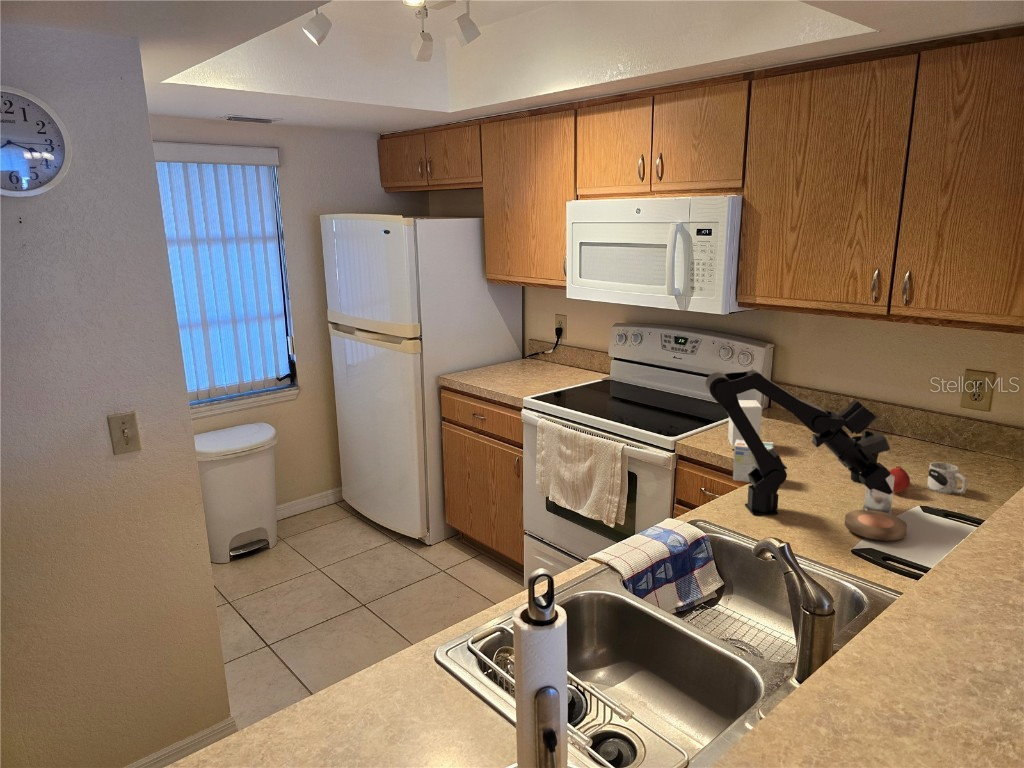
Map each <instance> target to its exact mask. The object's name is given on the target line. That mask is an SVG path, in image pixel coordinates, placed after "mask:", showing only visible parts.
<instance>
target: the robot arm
mask: <svg viewBox="0 0 1024 768" xmlns="http://www.w3.org/2000/svg"><path fill="white" fill-rule="evenodd" d="M705 388H706V390H707V391H708V393H709V394H710V395H711V396H712V398H713V400H715V401H716V402H717V404H718V405H720V407H721V408H722V409H723V410H724V411H725V412H726V414H727V415H728V418H729V417H730V418H731V420H732V422H733V423H734V425H735V427H736V428H737V430H738V432H739V433H740V435H741V436H742V438H743V440H744V441H745V443H746V445H747V446H748V448H749V449H750V451H751V453H752V456H753V459H754V463H755V465H756V468H755V469H754V470H752V471H751V472H750V473H749V474H748V478H749V481H750V482H749V483H750V484H751V485H750V484H749V485H748V487H747V489H748V490H747V491H748V492H747V502H746V503H744V507H746V508H748V509H749V510H750V511H749V512H750V513H751V514H752V516H766V515H769V516H770V515H778V514H779V511H778V508H779V494H778V491H779V488H780V486H781V485H782V484H784V483H785V482H786V479H787V477H788V474H787V473H788V472H787V470H788V467H787V466H786V465H785V464H784V462H783V461H782V459H781V456H780V455H779V454H778V452H777V451H776V449H774V448H772V449H771V450H769V451H768V450H767V449H766V447H765V446H764V444H763V442H764V441H762V439H761V436H760V437H759V436H758V434H757V433H756V431H755V429H754V428H753V426H752V424H751V423H750V421H749V419H748V418H747V416H746V414H745V413H744V411H743V410H742V408H741V406H740V404H739V401H738V400H739V398H738V395H740V394H742V393H745V392H748V391H750V390H755V391H757V392H759V393H760V394H762V395H763V396H765V397H767V398H768V399H769V400H772V402H774V403H776V404H778V405H779V406H781V407H782V408H784V409H786V410H787V411H789V412H790V413H791V414H793V416H795V417H796V418H797V419H798V421H800V422H801V423H802V424H803V425H804V426H806V427H807V428H808V430H809V431H811V432H812V440H811V443H812V444H813V445H814V446H815V447H816V448H819V447H821V446H822V445H825V446H826V447H827V448H828V450H830V452H831V453H832V454H833V455H834V456H835V457H836V458H837V461H839V462H840V463H841V464H842V465H843V466H844V467H845V468H847V470H848V471H849V472H850V473H851V472H852V473H854V474H856V475H858V476H859V480H860V481H861V482H862V483H863V485H864V487H865V488H866V487H867V488H868V489H869V490H871V489H876V490H878V491H881V492H884V493H886V494H889V495H890V494H891V493H892V492H893V491H892V489H891V488H890V486H889V484H888V483H887V481H886V478H887V477H888V476H890V474H891V472H890V470H889V469H888V468H887V467H885V466H884V465H883V464H882V463H880V462H877V463H873V464H872V463H870V461H872V460H873V459H874V457H873V456H872V455H876V454H878V453H879V454H880V453H884V452H888V451H890V450H891V446H890V444H889V442H888V440H887V437H886V436H885V435H883V434H882V433H880V432H877V431H876V432H874V433H873V432H872V431H870V430H869V429H867V428H868V427H869V426H871V425H872V424H873V423H875V421H877V420H878V418H877V416H876V415H875V414H874V413H873V412H872V411H871V410H870V409H868V408H867V407H865V406H864V405H863V404H862V403H861V402H860V401H858V399H854V400H852V401H851V402H850V404H849V405H848V406H847V407H845V408H843V410H842V411H840V412H839V413H837V412H836V411H832V410H826V409H825V410H824V409H823V408H822V407H820V406H818V405H816V404H814V403H811V402H809V401H806V400H803V399H800V398H798V397H796V396H795V395H793V394H791V393H790V392H788V391H787V390H786V389H784V388H782V387H780V386H779V385H777V383H775V382H773V381H771V380H770V379H768V378H767V377H765V376H763V374H761V373H760V372H759V371H758V370H755V369H750V370H747V371H737V372H736V371H735V372H729V373H728V372H727V373H723V372H720V371H719V372H712V373H711V374H709V375H708V376H707V378H706V380H705ZM843 427H844V428H845V429H846V430H847V431H848V432H849V433H851V435H853V434H854V433H855V434H856V435H860V434H861V433H862V434H861V436H862V438H861V440H860V441H858V442H857V441H856V440H855V439H852V436H850V435H849V434H848V432H846V431H845V430H844V428H843ZM879 454H878V455H879ZM862 483H861V484H862ZM893 493H894V492H893ZM748 509H747V510H748Z"/></svg>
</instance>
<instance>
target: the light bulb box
mask: <svg viewBox="0 0 1024 768" xmlns="http://www.w3.org/2000/svg"><path fill="white" fill-rule="evenodd" d="M762 442H763V444H764V446H765V447H766V449H767V450H768V451H769V450H771V449H772V448H774V447H775V446H774V445H775V444H774V442H773V441H772V442H771V441H762ZM732 465H733V468H732V481H738V482H747V483H751V482H750V481H749V478H748V474H749V473H750V472H751V471H752V470H754V469H755V468H756V465H755V463H754V459H753V456H752V453H751V451H750V449H749V448H748V446H747V445H746V443H745V441H744V440H737V439H736V442H735V446H734V450H733V464H732Z"/></svg>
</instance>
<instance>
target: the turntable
mask: <svg viewBox="0 0 1024 768" xmlns="http://www.w3.org/2000/svg"><path fill="white" fill-rule="evenodd" d="M844 526H845V528H846V529H847V530H849V531H850V532H852V533H853V534H856V535H858V536H860V537H864V538H866V537H867V538H866V539H869V538H871V539H870V540H874V539H877V540H876V541H898V540H901V539H904V538H905V537H907V532H908V523H907V522H906V521H905V520H903V519H902V518H900V517H899V516H897V515H894V514H892V515H891V514H888V513H885V512H880V511H874V510H863V509H857V510H856V509H855V510H851V511H848V512H846V514H845V516H844Z"/></svg>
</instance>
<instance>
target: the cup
mask: <svg viewBox="0 0 1024 768" xmlns="http://www.w3.org/2000/svg"><path fill="white" fill-rule="evenodd" d="M851 438H852V439H855V440H856V441H857V442H858V441H860V440H861V438H862V435H857V436H851ZM879 454H880V453H878V454H876V455H872V456H873V457H874V459H873V460H872V461H870V463H872V464H873V463H878V459H879ZM850 480H851V481H852V482H854V483H858V484H861V485H862V484H863V483H862V482H861V481H860V480H859V476H858V475H856V474H854V473H852V472H851V471H850ZM863 485H864V484H863Z"/></svg>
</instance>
